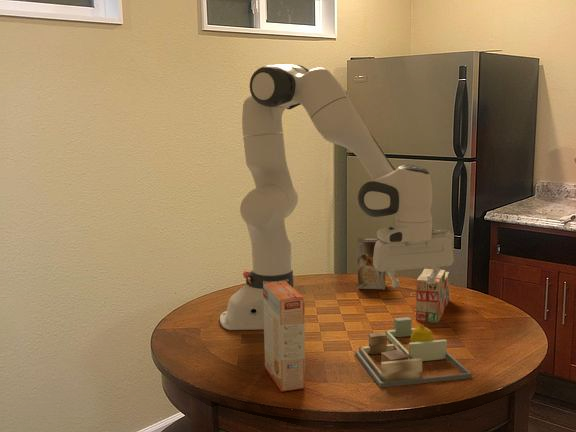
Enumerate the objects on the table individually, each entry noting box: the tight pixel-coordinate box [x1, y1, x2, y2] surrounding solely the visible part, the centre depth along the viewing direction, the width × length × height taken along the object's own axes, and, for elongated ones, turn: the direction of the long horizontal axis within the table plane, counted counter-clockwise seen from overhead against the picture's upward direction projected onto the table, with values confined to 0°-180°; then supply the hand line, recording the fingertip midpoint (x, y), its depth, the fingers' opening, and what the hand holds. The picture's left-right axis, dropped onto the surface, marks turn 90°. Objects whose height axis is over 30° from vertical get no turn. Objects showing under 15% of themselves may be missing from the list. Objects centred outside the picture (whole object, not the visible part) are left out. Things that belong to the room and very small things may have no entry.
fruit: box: [410, 323, 435, 343], centre depth 154 cm, size 6×6×8 cm
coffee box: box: [356, 237, 386, 290], centre depth 210 cm, size 9×6×16 cm
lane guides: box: [354, 350, 473, 388], centre depth 148 cm, size 21×19×1 cm
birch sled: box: [358, 332, 423, 382], centre depth 148 cm, size 9×18×4 cm, turn 11°
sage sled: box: [384, 316, 448, 362], centre depth 159 cm, size 9×18×4 cm, turn 11°
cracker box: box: [263, 281, 306, 393], centre depth 141 cm, size 14×6×21 cm, turn 17°
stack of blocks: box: [415, 268, 450, 324], centre depth 186 cm, size 21×6×12 cm, turn 158°
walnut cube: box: [380, 350, 408, 363], centre depth 145 cm, size 4×4×4 cm
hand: (413, 285), depth 159 cm, fingers open, 8 cm apart
